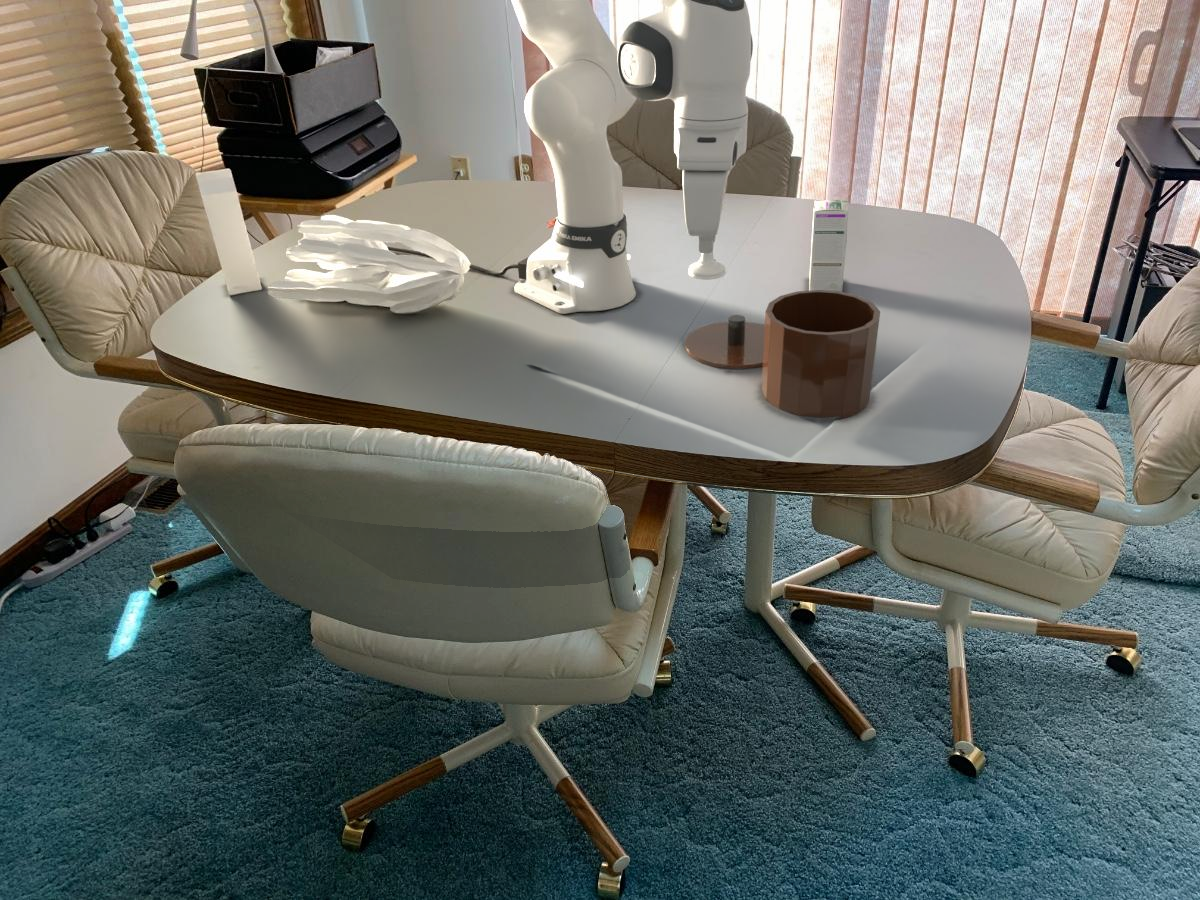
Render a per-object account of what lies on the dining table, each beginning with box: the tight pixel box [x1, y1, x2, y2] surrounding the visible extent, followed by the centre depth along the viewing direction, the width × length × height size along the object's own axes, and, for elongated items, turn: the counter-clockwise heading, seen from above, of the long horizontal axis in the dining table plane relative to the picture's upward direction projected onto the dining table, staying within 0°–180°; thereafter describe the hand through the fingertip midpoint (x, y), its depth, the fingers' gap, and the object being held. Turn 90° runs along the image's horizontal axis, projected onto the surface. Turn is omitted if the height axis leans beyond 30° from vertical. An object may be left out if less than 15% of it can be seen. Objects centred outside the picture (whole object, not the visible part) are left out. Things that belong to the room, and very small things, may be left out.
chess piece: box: [687, 250, 727, 281], centre depth 118 cm, size 5×5×10 cm
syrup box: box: [808, 199, 849, 292], centre depth 156 cm, size 6×6×14 cm
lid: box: [684, 314, 765, 370], centre depth 139 cm, size 16×16×5 cm
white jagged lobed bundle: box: [267, 214, 471, 315], centre depth 159 cm, size 17×18×35 cm
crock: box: [761, 290, 881, 421], centre depth 124 cm, size 15×15×13 cm
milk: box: [195, 168, 263, 296], centre depth 168 cm, size 6×6×22 cm
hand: (707, 246), depth 119 cm, fingers closed on chess piece
